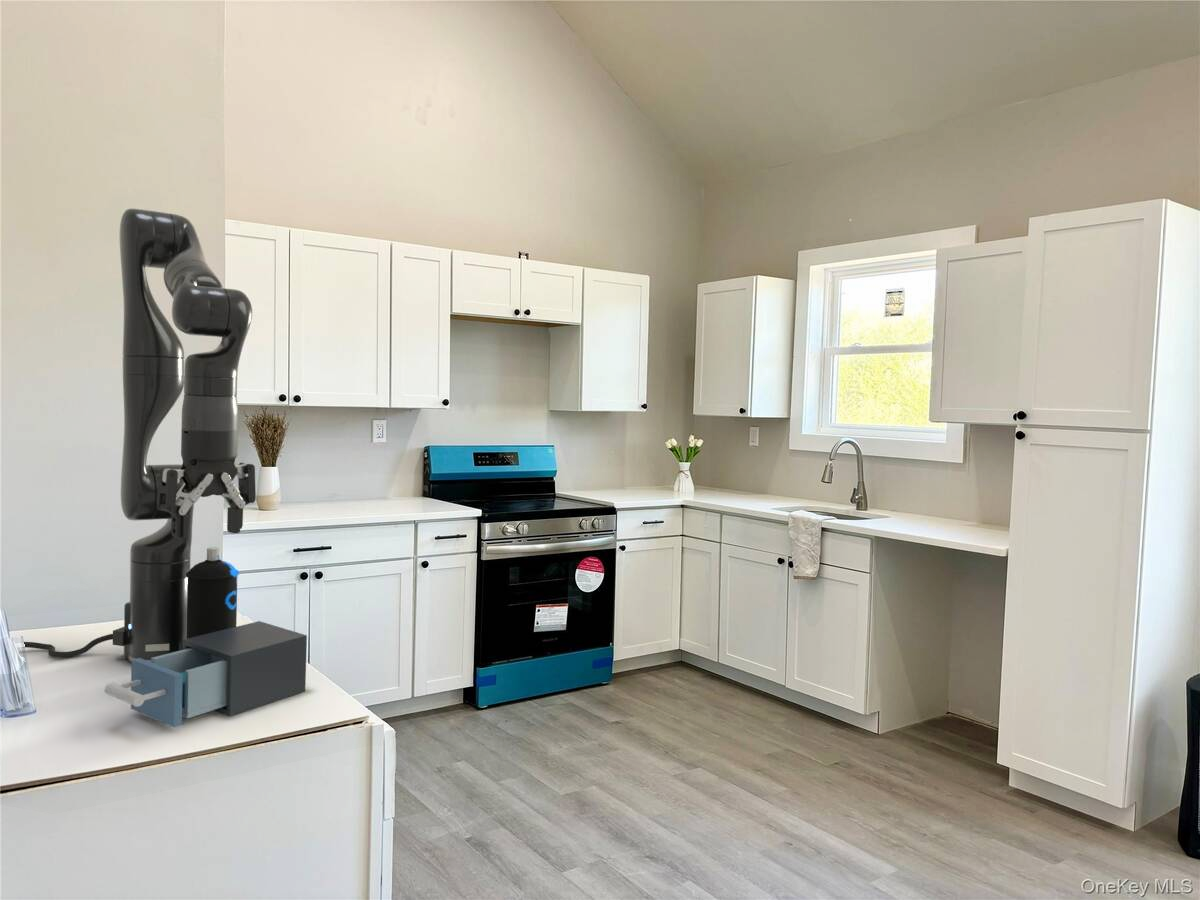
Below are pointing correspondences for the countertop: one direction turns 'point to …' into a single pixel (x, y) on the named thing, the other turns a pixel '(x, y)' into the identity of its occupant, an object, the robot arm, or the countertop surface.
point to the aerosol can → (211, 595)
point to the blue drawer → (175, 685)
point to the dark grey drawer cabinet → (256, 663)
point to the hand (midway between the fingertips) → (207, 536)
